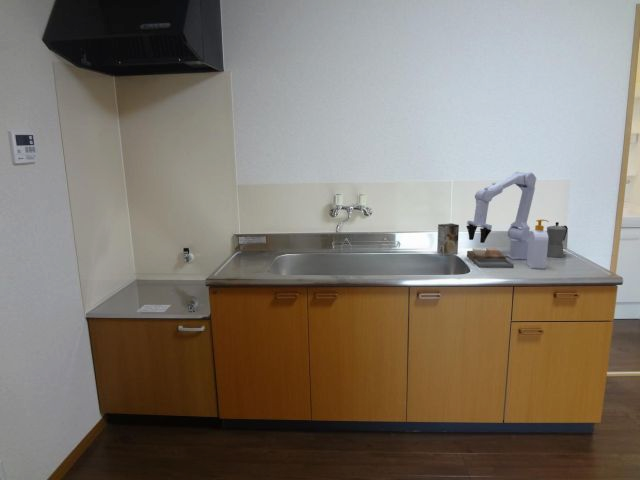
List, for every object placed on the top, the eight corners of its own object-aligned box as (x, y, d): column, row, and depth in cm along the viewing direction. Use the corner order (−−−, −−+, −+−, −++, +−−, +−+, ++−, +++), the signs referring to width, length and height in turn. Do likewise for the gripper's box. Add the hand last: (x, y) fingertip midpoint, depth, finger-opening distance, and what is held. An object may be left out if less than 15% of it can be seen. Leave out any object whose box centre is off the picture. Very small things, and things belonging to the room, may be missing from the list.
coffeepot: (553, 259, 237) (557, 224, 233) (537, 255, 245) (540, 221, 242) (572, 255, 244) (576, 222, 240) (556, 252, 252) (559, 219, 249)
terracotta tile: (495, 252, 240) (496, 248, 240) (499, 254, 235) (499, 250, 235) (486, 251, 240) (486, 248, 240) (489, 254, 236) (489, 250, 235)
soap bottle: (547, 269, 218) (552, 221, 214) (531, 268, 219) (536, 221, 214) (541, 264, 227) (545, 218, 222) (526, 263, 228) (530, 218, 223)
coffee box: (450, 251, 255) (451, 223, 252) (457, 254, 249) (459, 224, 246) (436, 253, 251) (437, 224, 248) (443, 255, 246) (445, 226, 242)
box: (506, 262, 231) (506, 259, 230) (513, 267, 221) (513, 264, 220) (473, 262, 231) (473, 258, 231) (479, 267, 222) (479, 264, 221)
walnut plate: (497, 256, 243) (498, 250, 243) (505, 262, 231) (506, 256, 231) (466, 256, 244) (467, 250, 243) (473, 262, 232) (473, 256, 232)
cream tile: (482, 251, 241) (482, 248, 240) (485, 254, 236) (485, 250, 235) (472, 251, 241) (472, 248, 240) (475, 254, 236) (475, 250, 235)
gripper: (464, 211, 232) (460, 238, 234) (485, 216, 219) (481, 244, 222) (474, 212, 235) (470, 238, 237) (496, 216, 222) (492, 244, 225)
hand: (476, 241), depth 230 cm, fingers open, 7 cm apart
